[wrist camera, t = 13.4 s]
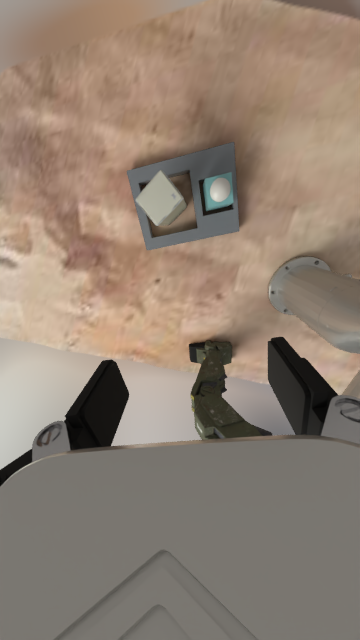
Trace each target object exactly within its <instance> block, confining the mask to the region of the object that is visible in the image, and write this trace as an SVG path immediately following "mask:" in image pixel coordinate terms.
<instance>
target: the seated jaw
mask: <svg viewBox="0 0 360 640" xmlns="http://www.w3.org/2000/svg"><path fill="white" fill-rule="evenodd" d="M203 193H204V201H205V209H206V211H210V210H215V209H219V208H223V207H227V206H229V205H231V204H232V203H234V202H233V187H232V172H230V173H226V174H222V175H218V176H214V177H210V178H206V179H205V180H204V184H203Z"/></svg>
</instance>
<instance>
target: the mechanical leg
mask: <svg viewBox="0 0 360 640" xmlns="http://www.w3.org/2000/svg"><path fill="white" fill-rule="evenodd" d="M189 352H190V360H191V362H195V363H201V364H202V365H201V368H200V370H199V373H198V376H197V379H196V382H195V384H194V386H193V388H192V391H191V398H192V410H193V412H194V417H195V428H196V430H197V432H198V434H199V435H200V437H201V439H202V440H208V439H223V438H239V437H255V436H272V433H271V432H269V431H266V430H264V429H261V428H259V427H256V426H254V425H251V424H250V423H248V422H247V421H245V420H244V419H243V418H242V417H241V416H240V415H239V414H238V413H237V412H236V411H235V410H234V409H233V408H232V407H231V406H230V405H229V404H228V403H227V402H226V401H225V400H224V399H223V398H222V393H223V392H225V391H226V390H227V389H226V388H225V380H224V379H225V378H227V376H226V374H225V369H224V366H223V365H226V364H229V363H231V358H232V345H231V344H230V342H212V343H211V341H206V343H205V342H202V343H195V344H189Z"/></svg>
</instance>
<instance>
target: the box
mask: <svg viewBox="0 0 360 640" xmlns="http://www.w3.org/2000/svg"><path fill="white" fill-rule="evenodd" d="M136 202H137V203H138V204H139V206H140V207H141V208H142V209H143V211H144V212H145V213H146V214H147V216H148V217H149V218H150V219H151V220H152V222H153V223H154V224H155V225H156V226H164V225H170V224H171V223H172V222H173V221H174V220H175V219H176V218H177V217H178V216H179V215H180V214H181V213H182V212H183V211H184V209H185V208H186V207H187V205H186V202H185V200H184V197H183V196H182V195H181V193H180V192H179V191H178V189H177V188H176V187H175V185H174V184H173V183H172V182H171V180H170V179H169V178H168V177H167V175H166V174H165V173H164V172H163V171H162V170H160V171H159V172H158V173H157V174H156V175H155V176H154V177H153V179H152V180H151V181H150V182H149V183H148V184H147V186H146V187H145V188H144V189H143V190H142V192H141V193H140V194H139V196H138V197H137V198H136Z"/></svg>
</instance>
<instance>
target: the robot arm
mask: <svg viewBox="0 0 360 640" xmlns="http://www.w3.org/2000/svg"><path fill="white" fill-rule="evenodd" d="M286 266H287V268H286ZM272 291H273V292H272ZM268 297H269V300H270V303H271V304H272V305H273V307H275V308H276V309H277V310H278V311H280V312H281V313H284V314H288V315H296V316H297V317H298V318H299V319H300V320H302V321H303V322H304V323H305V324H306V325H308V326H309V327H310V328H311V329H312V330H314V331H315V332H316V333H317V334H318V335H320V336H321V337H322V338H323V339H325V340H326V341H327V342H328V343H330V344H331V345H332V346H334V347H336V348H338V349H340V350H343V351H346V352H350V353H357V354H360V280H358V279H355V278H352V275H351V274H344V275H341V274H338V273H335V272H332V271H331V269H330V268H329V266H328V265H327V264H326V263H325V262H324V261H322V260H321V259H318V258H315V257H310V256H303V257H298V258H295V259H292V260H290V261H288V262H286V263H285V264H283V265H282V266H281V267H280V268H279V269H278V270H277V271H276V272H275V273H274V275H273V276H272V278H271V280H270V283H269V287H268ZM284 309H285V310H284ZM268 380H269V383H270V385H271V387H272V389H273V391H274V393H275V395H276V397H277V398H278V401H279V403H280V405H281V407H282V409H283V411H284V413H285V415H286V417H287V419H288V421H289V422H290V424H291V426H292V428H293V430H294V432H295V434H296V435H277V436H255V437H239V438H223V439H208V440H193V441H178V442H166V443H165V442H164V443H149V444H136V445H123V446H111V444H112V441H113V438H114V436H115V433H116V430H117V428H118V425H119V422H120V420H121V417H122V414H123V412H124V409H125V406H126V403H127V401H128V398H129V392H128V389H127V387H126V385H125V382H124V380H123V378H122V375H121V373H120V370H119V368H118V366H117V363H116V362H114V361H113V360H105V361H102V362H101V364H100V365H99V366H98V368H97V369H96V371H95V372H94V374H93V375H92V377H91V378H90V380H89V381H88V383H87V384H86V386H85V387H84V389H83V390H82V392H81V393H80V395H79V396H78V398H77V399H76V401H75V402H74V404H73V405H72V406H71V408H70V409H69V411H68V412H67V414H66V415H65V417H66V420H65V421H64V422H63V421H57V422H53V423H51V424H49V425H48V426H46V427H45V428H44V429H43V430H41V431H40V432H39V434H38V435H37V436H36V437H35V439H34V441H33V447H32V449H31V450H29V451H28V452H26V453H25V454H23V455H22V456H21V457H19V458H18V459H16V460H14V461H13V462H11V463H10V464H8V465H7V466H6V467H4V468H3V469H1V470H0V640H360V370H359V372H358V373H357V374H356V376H355V377H354V378H353V380H352V381H351V382H350V384H349V385H348V386H347V388H346V389H345V391H344V392H343V393H342V395H339V396H338V394H337V393H336V392H335V391H334V390H333V389H332V388H331V386H330V385H329V384H328V383H327V382H326V381H325V380H324V379H323V377H322V376H321V375H320V374H319V373H318V372H317V371H316V370H315V368H314V367H313V366H312V365H311V364H310V363H309V362H308V360H306V359H305V358H301V357H300V356H299V355H298V354H297V353H296V352H295V350H294V349H293V348H292V347H291V346H290V345H289V343H288V342H287V341H286V340H285V339H284V338H283V337H276V338H272V339H271V341H268Z"/></svg>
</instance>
